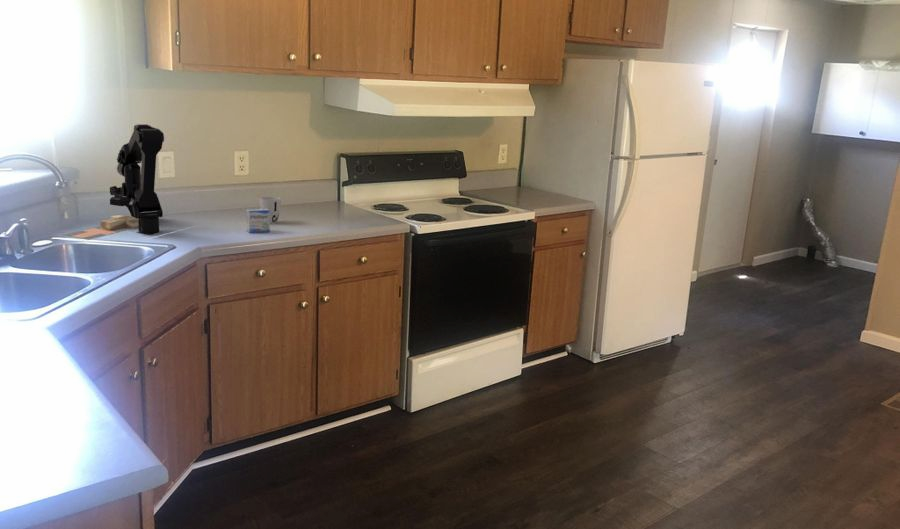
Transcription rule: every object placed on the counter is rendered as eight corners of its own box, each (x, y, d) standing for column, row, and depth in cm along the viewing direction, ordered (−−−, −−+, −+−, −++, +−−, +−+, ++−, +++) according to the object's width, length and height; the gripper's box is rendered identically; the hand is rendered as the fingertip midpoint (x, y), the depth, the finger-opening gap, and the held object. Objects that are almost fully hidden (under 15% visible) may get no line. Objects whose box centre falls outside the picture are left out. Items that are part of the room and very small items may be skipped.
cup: (275, 225, 287) (275, 200, 284) (256, 223, 288) (256, 198, 286) (283, 221, 295) (283, 197, 292) (265, 219, 296) (265, 195, 293)
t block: (140, 225, 271) (139, 218, 270) (116, 231, 260) (115, 223, 259) (119, 222, 274) (118, 214, 273) (94, 228, 263) (93, 220, 262)
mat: (144, 227, 272) (144, 225, 271) (89, 241, 247) (88, 239, 247) (119, 223, 275) (118, 221, 275) (61, 236, 251) (61, 235, 251)
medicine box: (249, 233, 272) (248, 210, 269) (246, 230, 275) (246, 208, 273) (269, 232, 275) (269, 210, 273) (267, 229, 279) (266, 207, 277)
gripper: (134, 175, 282) (136, 214, 286) (96, 180, 265) (99, 222, 269) (157, 178, 278) (159, 217, 282) (120, 184, 261) (123, 226, 265)
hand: (135, 220), depth 275 cm, fingers closed
